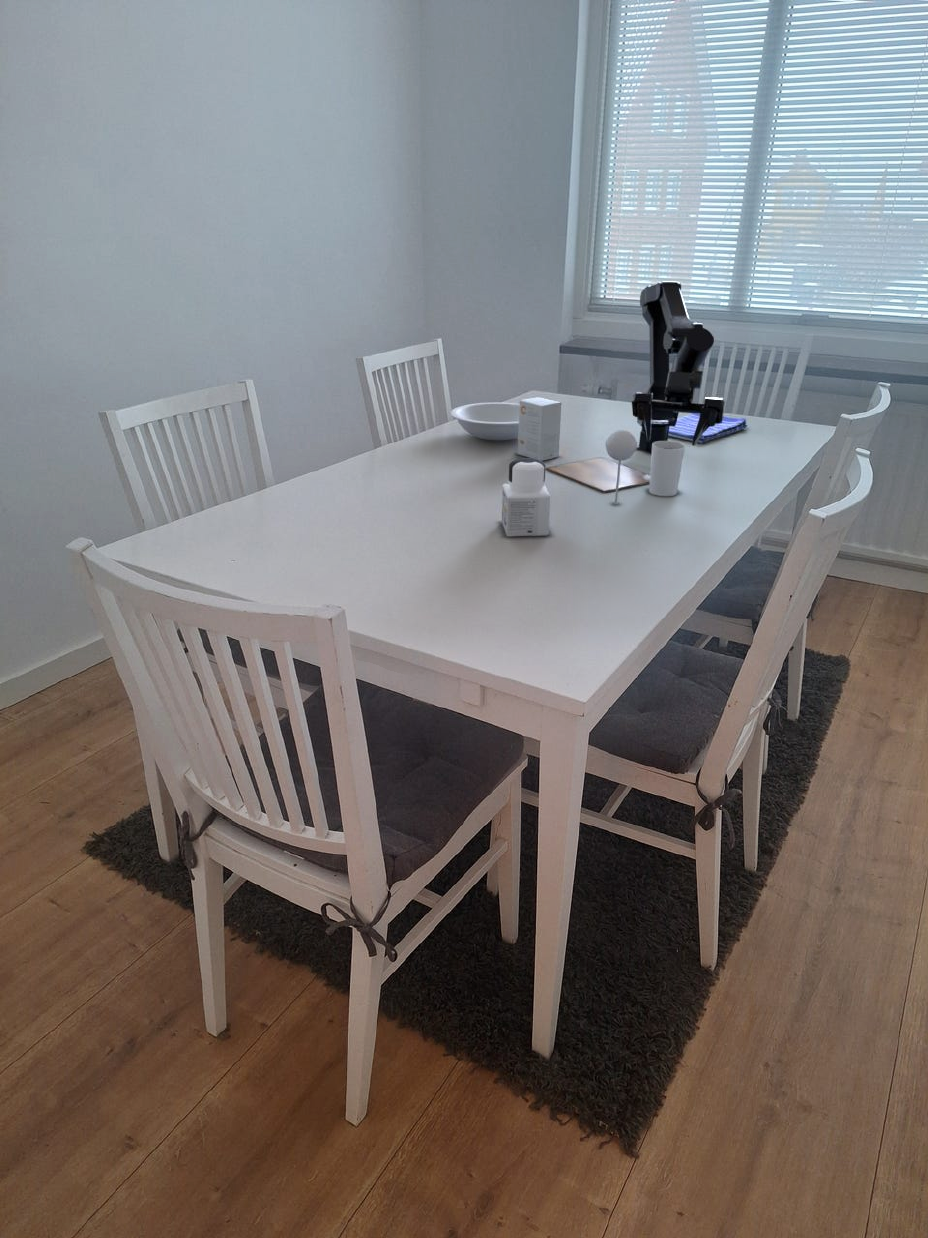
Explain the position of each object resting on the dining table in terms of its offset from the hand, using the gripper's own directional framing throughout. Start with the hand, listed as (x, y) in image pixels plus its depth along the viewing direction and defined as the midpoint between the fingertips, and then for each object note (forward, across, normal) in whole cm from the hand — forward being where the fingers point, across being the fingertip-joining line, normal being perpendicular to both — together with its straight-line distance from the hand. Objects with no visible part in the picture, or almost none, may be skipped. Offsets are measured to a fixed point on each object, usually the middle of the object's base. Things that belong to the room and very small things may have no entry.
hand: (670, 442), depth 169 cm
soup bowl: (-12, -46, +26) cm, 55 cm away
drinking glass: (+9, 0, +5) cm, 10 cm away
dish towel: (-32, +2, +46) cm, 55 cm away
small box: (-4, -32, +18) cm, 37 cm away
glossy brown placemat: (+4, -14, +10) cm, 18 cm away
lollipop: (+17, -8, -3) cm, 19 cm away
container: (+32, -21, -17) cm, 42 cm away
